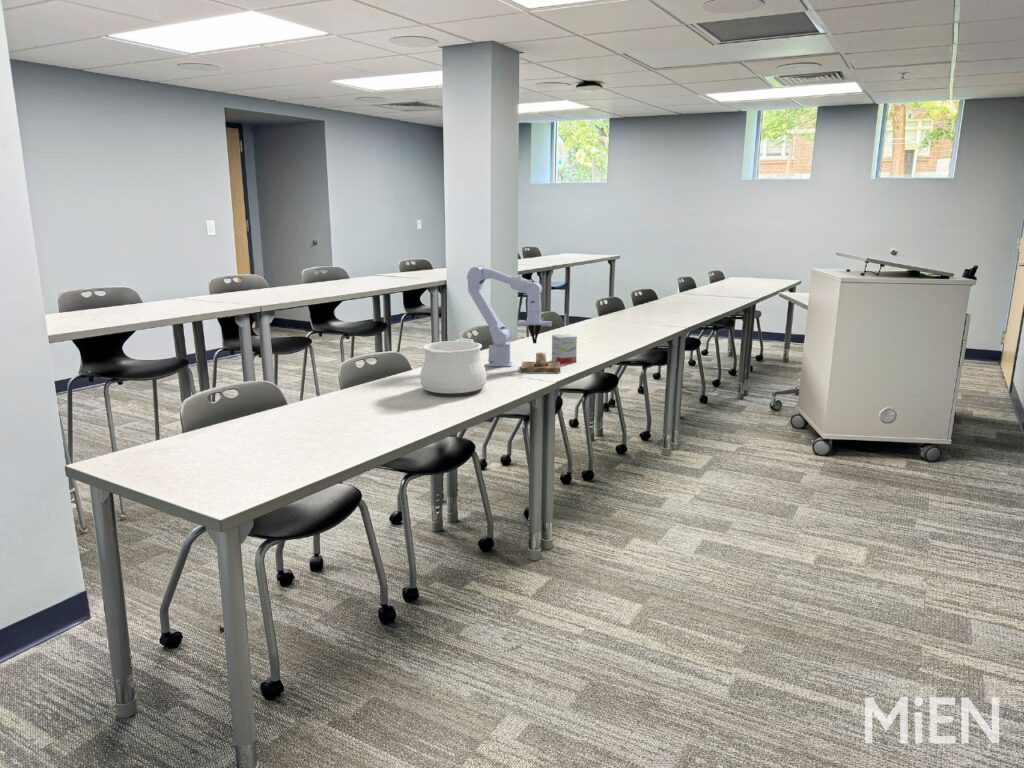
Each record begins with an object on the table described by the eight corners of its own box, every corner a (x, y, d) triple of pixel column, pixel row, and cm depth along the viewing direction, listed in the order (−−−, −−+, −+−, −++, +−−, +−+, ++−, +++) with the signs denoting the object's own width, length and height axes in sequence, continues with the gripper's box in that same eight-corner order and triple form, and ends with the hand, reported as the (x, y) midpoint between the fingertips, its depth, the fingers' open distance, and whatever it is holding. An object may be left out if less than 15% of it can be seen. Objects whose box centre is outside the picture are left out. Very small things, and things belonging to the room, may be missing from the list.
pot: (438, 380, 284) (437, 336, 280) (497, 384, 277) (496, 339, 273) (407, 397, 258) (405, 349, 254) (470, 402, 250) (469, 353, 246)
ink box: (577, 362, 315) (577, 335, 312) (559, 364, 312) (559, 337, 309) (568, 359, 323) (568, 333, 320) (551, 360, 320) (551, 334, 317)
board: (521, 372, 295) (521, 368, 295) (522, 366, 308) (522, 361, 308) (560, 372, 295) (560, 368, 294) (559, 366, 307) (559, 361, 307)
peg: (535, 370, 299) (535, 354, 298) (536, 368, 303) (536, 352, 302) (545, 371, 298) (545, 354, 297) (546, 368, 303) (546, 352, 301)
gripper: (516, 312, 298) (517, 344, 301) (551, 312, 297) (551, 344, 301) (517, 310, 305) (518, 342, 308) (551, 310, 304) (551, 341, 307)
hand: (534, 343), depth 305 cm, fingers closed
